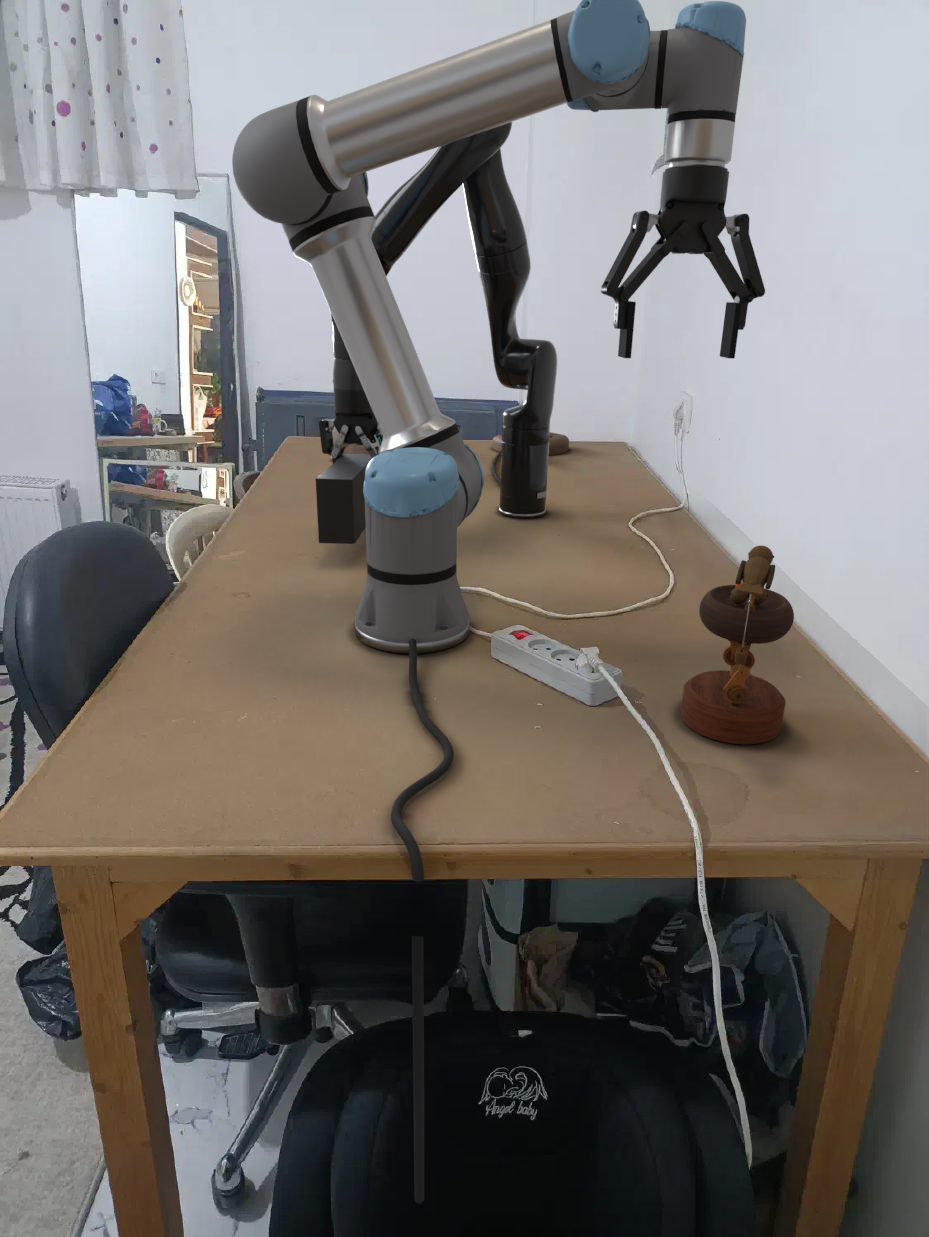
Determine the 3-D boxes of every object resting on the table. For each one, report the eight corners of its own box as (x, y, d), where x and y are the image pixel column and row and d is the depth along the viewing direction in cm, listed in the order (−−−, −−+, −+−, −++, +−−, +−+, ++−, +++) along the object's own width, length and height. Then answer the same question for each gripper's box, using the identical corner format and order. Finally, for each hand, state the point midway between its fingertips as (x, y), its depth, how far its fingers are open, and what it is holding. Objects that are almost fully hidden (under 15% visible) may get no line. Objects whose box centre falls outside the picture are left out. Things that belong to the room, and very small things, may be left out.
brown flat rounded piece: (498, 464, 212) (499, 447, 210) (490, 443, 238) (490, 428, 236) (581, 464, 213) (583, 447, 211) (564, 443, 239) (565, 428, 237)
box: (354, 544, 136) (352, 479, 132) (318, 543, 136) (315, 478, 133) (377, 510, 158) (376, 454, 154) (346, 509, 158) (344, 453, 154)
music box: (801, 756, 85) (818, 567, 77) (689, 756, 86) (695, 570, 79) (768, 687, 99) (780, 521, 91) (672, 688, 100) (676, 525, 93)
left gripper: (780, 174, 103) (754, 354, 111) (583, 166, 100) (571, 354, 108) (812, 167, 97) (783, 360, 105) (603, 159, 93) (589, 360, 101)
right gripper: (401, 385, 148) (402, 479, 154) (328, 380, 152) (332, 472, 158) (384, 390, 141) (386, 488, 148) (307, 385, 146) (312, 480, 152)
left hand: (676, 357), depth 106 cm, fingers open, 13 cm apart
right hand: (358, 479), depth 153 cm, fingers closed on box, 6 cm apart
